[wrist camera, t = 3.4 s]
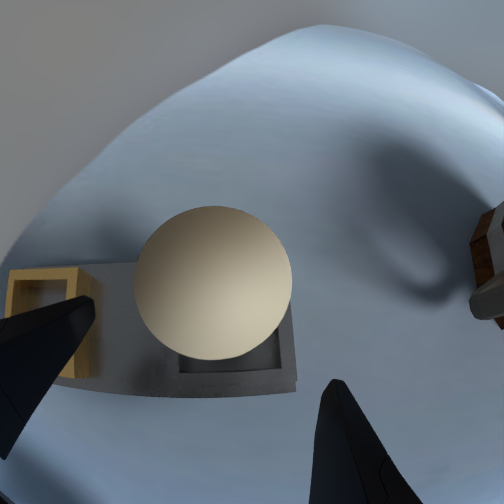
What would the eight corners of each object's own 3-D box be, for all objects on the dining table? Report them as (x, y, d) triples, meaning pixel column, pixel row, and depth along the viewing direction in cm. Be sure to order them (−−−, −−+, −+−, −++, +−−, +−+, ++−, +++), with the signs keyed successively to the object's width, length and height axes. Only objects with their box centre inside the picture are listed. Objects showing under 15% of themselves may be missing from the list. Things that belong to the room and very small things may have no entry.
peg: (274, 331, 17) (324, 291, 7) (222, 370, 16) (194, 392, 6) (234, 282, 18) (227, 181, 8) (183, 319, 17) (109, 262, 7)
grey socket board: (280, 260, 20) (287, 242, 17) (292, 389, 17) (302, 395, 14) (31, 271, 19) (9, 258, 16) (26, 375, 16) (2, 374, 13)
